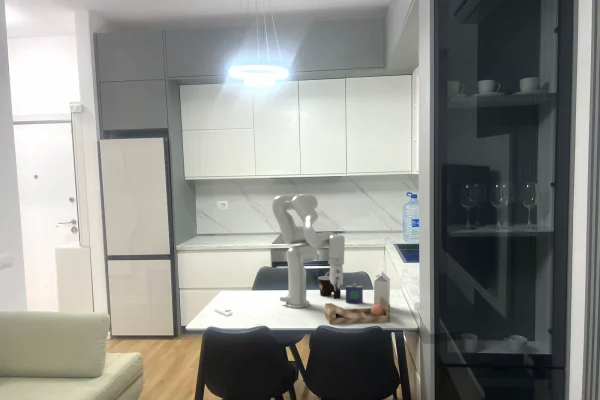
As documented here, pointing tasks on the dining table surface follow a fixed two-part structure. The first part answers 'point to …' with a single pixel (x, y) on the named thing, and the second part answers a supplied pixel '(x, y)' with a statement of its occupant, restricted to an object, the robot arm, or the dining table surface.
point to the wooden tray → (356, 314)
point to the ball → (377, 310)
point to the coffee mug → (325, 286)
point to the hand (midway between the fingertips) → (335, 295)
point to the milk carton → (381, 288)
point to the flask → (354, 294)
